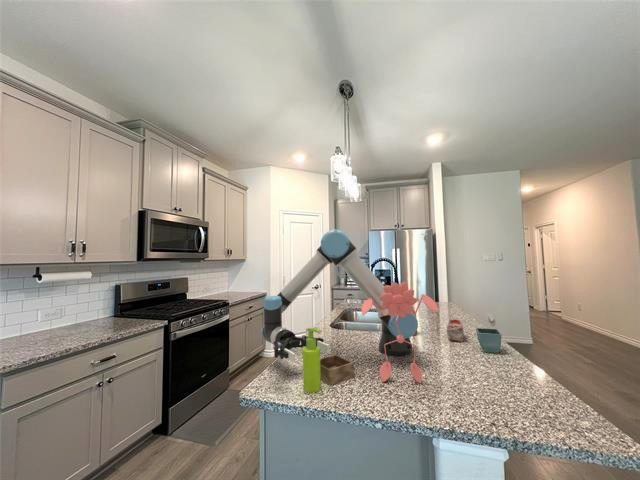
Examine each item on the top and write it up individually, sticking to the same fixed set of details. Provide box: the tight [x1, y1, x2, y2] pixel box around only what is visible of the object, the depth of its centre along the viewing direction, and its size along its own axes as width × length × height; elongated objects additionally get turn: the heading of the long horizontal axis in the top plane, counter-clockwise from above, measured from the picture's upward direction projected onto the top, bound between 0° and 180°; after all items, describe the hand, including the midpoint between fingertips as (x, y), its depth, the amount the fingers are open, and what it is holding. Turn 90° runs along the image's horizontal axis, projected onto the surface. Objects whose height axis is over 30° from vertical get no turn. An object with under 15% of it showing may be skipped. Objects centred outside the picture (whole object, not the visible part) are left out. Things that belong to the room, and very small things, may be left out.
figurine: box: [360, 281, 439, 398], centre depth 94 cm, size 15×26×35 cm, turn 79°
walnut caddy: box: [320, 354, 355, 386], centre depth 102 cm, size 11×11×5 cm
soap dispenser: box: [302, 327, 323, 394], centre depth 93 cm, size 6×7×20 cm
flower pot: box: [475, 327, 503, 354], centre depth 123 cm, size 9×9×9 cm
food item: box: [446, 318, 465, 343], centre depth 142 cm, size 14×8×10 cm, turn 156°
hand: (312, 353), depth 92 cm, fingers open, 13 cm apart
